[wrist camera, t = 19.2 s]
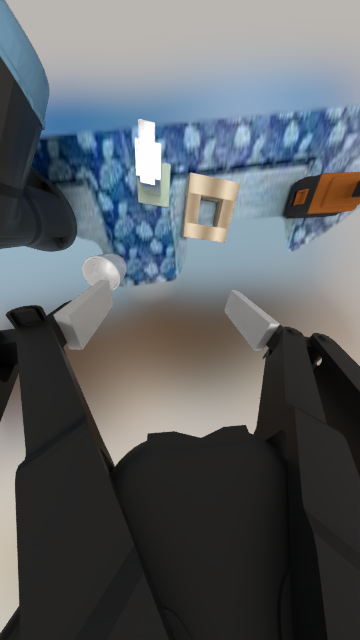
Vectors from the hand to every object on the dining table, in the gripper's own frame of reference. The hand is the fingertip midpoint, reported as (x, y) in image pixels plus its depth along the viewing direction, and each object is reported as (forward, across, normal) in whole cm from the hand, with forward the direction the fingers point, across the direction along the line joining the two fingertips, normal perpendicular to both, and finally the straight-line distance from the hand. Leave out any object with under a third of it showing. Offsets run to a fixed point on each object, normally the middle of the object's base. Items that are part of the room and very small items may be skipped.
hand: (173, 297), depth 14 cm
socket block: (+29, +9, +11) cm, 32 cm away
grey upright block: (+28, -4, +14) cm, 32 cm away
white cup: (+29, -15, -4) cm, 33 cm away
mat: (+29, -4, +14) cm, 32 cm away
